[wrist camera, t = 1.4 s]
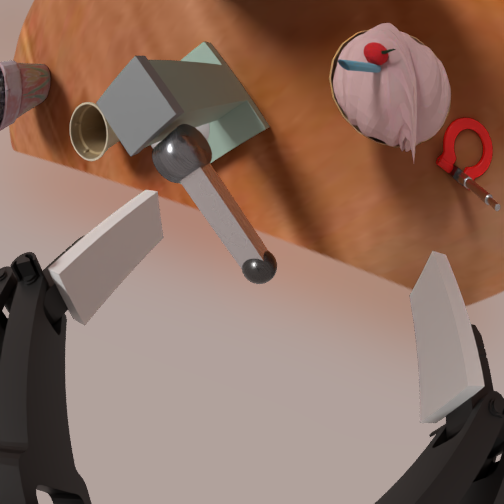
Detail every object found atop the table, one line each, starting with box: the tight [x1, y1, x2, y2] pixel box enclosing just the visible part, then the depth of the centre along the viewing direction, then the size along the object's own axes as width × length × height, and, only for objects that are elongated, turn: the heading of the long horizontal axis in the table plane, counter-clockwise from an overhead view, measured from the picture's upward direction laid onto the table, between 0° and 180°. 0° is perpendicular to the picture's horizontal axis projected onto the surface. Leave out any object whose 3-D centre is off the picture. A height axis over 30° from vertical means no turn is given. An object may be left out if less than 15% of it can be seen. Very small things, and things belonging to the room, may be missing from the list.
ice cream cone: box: [329, 23, 451, 162], centre depth 19 cm, size 11×11×20 cm
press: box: [96, 42, 270, 184], centre depth 28 cm, size 15×17×19 cm
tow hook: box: [436, 117, 500, 211], centre depth 21 cm, size 8×13×9 cm
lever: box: [152, 124, 277, 284], centre depth 23 cm, size 16×3×4 cm, turn 33°
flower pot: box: [70, 102, 120, 161], centre depth 35 cm, size 9×9×9 cm
